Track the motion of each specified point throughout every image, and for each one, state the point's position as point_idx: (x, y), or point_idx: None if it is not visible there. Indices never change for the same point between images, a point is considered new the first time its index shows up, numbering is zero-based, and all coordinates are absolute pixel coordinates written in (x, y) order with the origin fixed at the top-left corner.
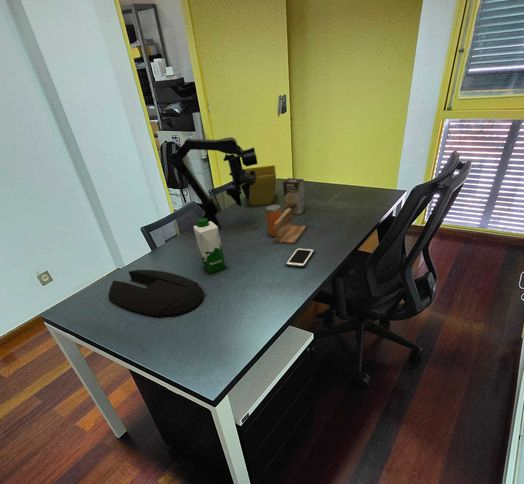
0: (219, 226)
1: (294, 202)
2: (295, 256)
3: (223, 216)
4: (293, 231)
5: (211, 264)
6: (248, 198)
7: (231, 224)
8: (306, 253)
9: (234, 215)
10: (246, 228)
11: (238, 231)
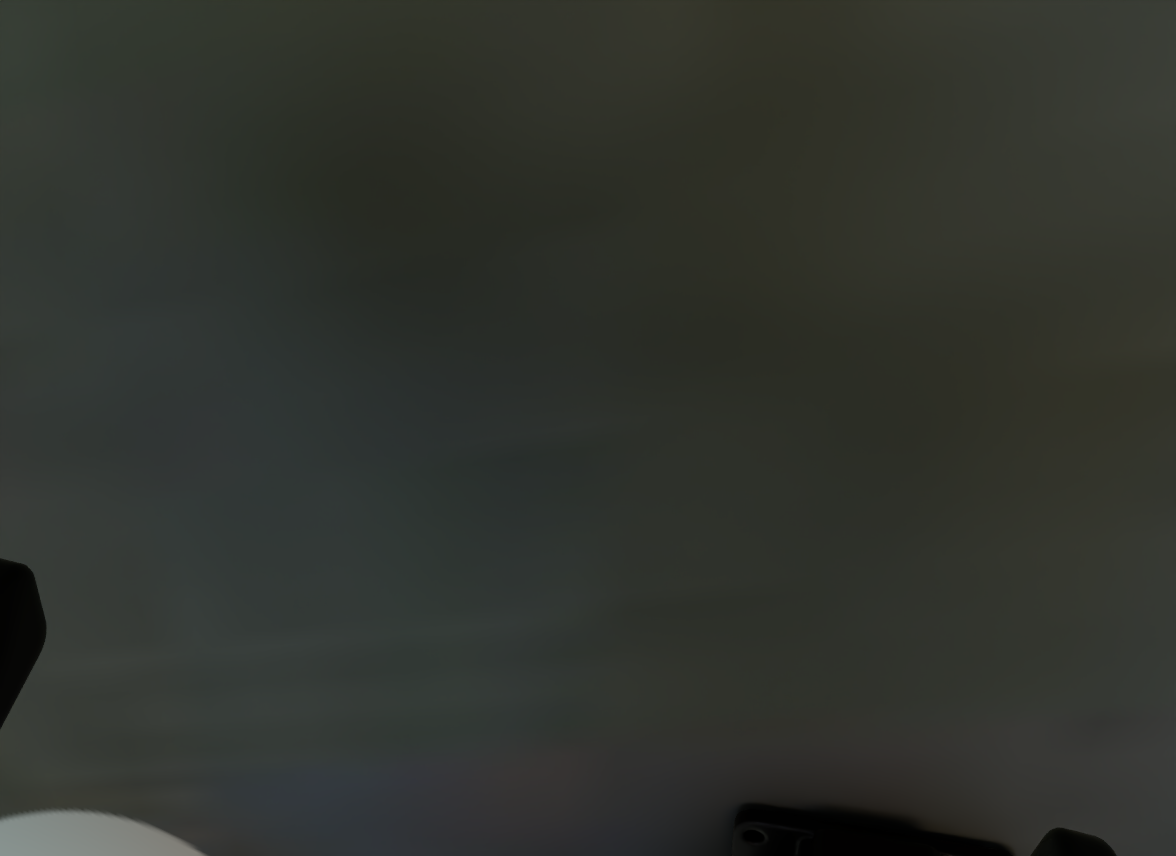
0: (826, 838)
1: None
2: None
3: (216, 780)
4: None
5: None
6: (17, 583)
7: (619, 613)
8: None
9: (132, 608)
10: (952, 208)
11: (1135, 401)
